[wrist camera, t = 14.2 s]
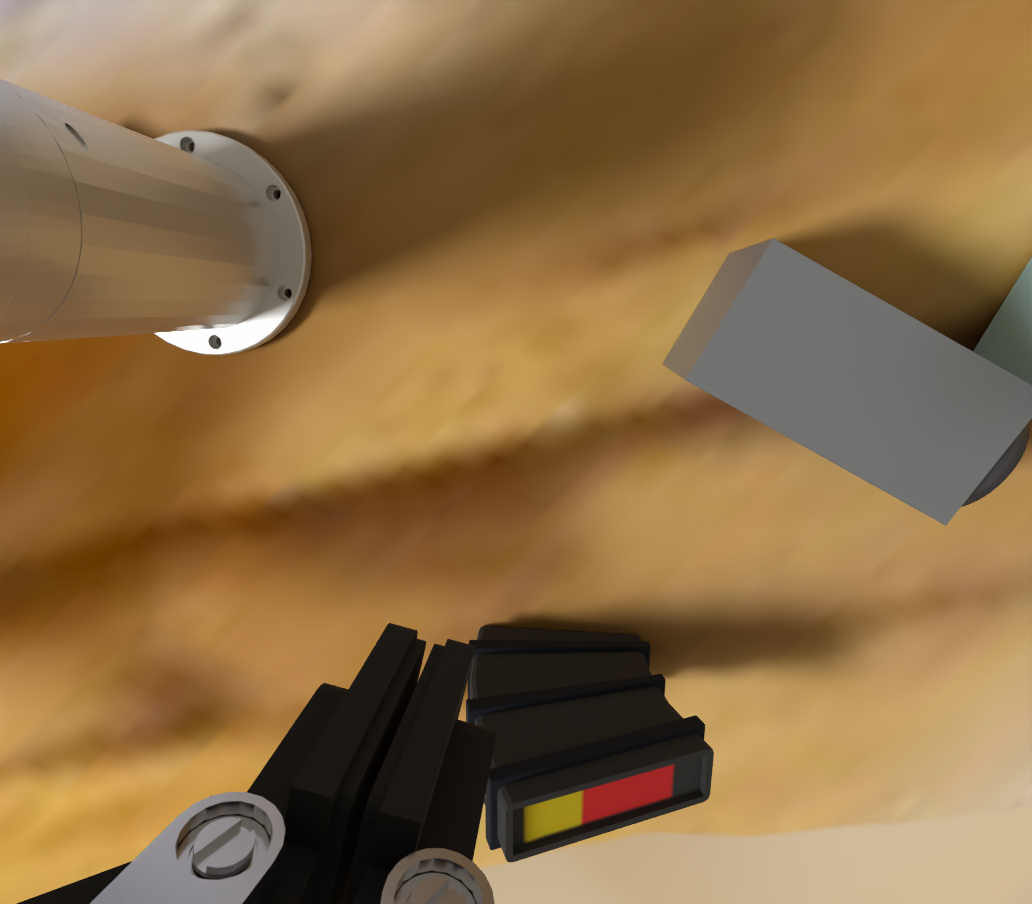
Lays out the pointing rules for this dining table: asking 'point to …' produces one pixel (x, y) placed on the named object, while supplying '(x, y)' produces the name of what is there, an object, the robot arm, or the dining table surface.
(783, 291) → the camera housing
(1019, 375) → the side door
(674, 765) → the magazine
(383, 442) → the dining table surface
